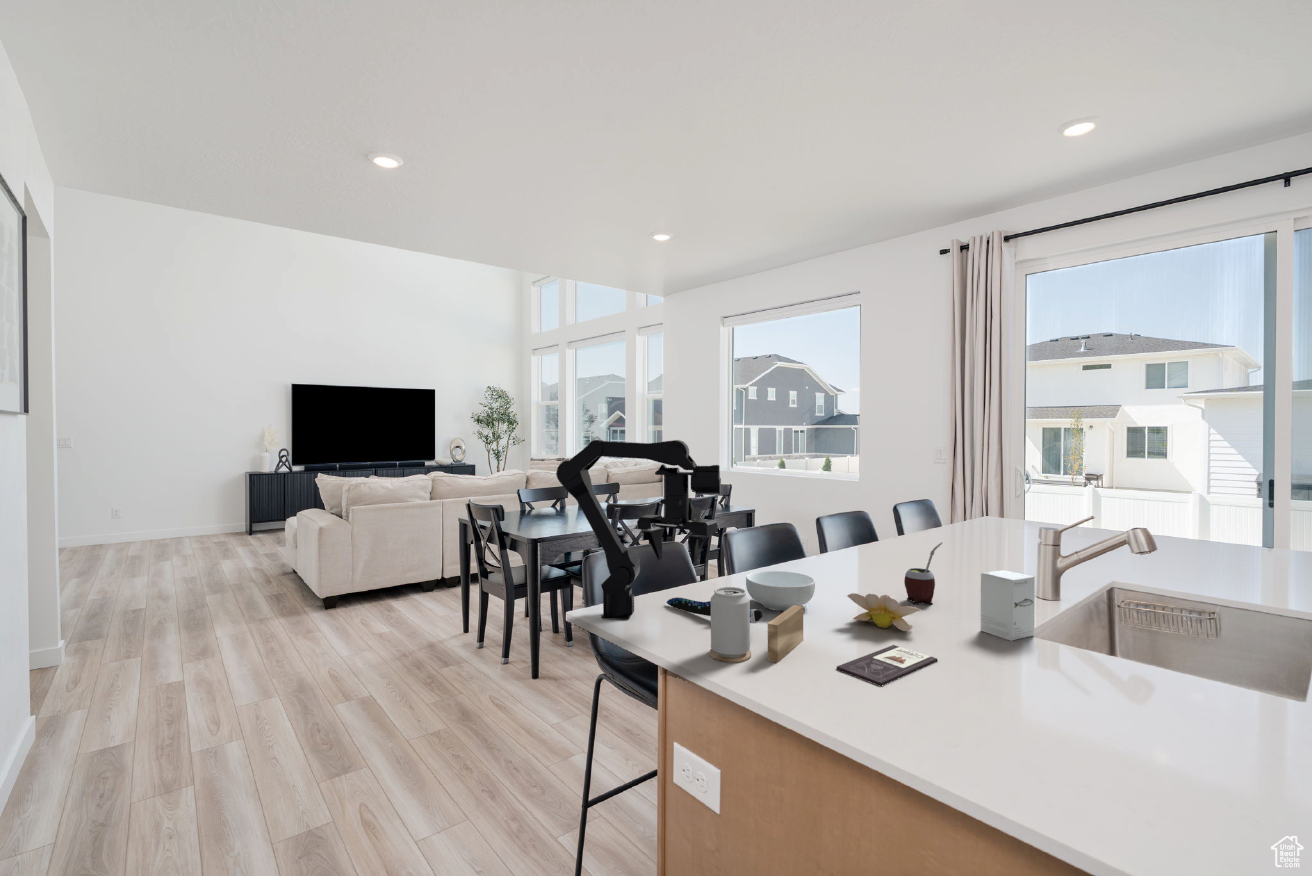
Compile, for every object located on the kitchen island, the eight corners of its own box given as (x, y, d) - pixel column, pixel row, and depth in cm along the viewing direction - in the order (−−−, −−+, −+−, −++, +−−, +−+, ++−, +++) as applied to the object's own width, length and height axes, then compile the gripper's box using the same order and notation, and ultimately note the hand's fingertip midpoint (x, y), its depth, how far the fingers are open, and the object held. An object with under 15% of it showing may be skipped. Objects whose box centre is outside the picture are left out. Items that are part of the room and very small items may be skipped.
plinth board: (767, 660, 112) (767, 623, 112) (793, 638, 124) (793, 604, 124) (777, 662, 111) (777, 625, 111) (803, 640, 123) (803, 606, 123)
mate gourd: (899, 602, 150) (899, 542, 150) (913, 596, 155) (913, 538, 155) (929, 608, 144) (929, 546, 144) (943, 602, 150) (943, 542, 149)
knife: (765, 629, 126) (764, 608, 126) (755, 632, 124) (754, 610, 124) (675, 611, 150) (674, 593, 150) (666, 613, 148) (665, 594, 149)
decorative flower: (935, 617, 132) (928, 575, 130) (918, 643, 124) (911, 598, 122) (868, 609, 142) (861, 569, 140) (849, 632, 134) (841, 590, 132)
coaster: (708, 661, 112) (708, 658, 112) (711, 646, 120) (710, 643, 120) (751, 663, 111) (751, 661, 111) (751, 648, 119) (751, 645, 119)
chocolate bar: (836, 666, 108) (893, 644, 119) (836, 671, 108) (893, 649, 119) (881, 683, 101) (937, 658, 112) (881, 688, 101) (937, 663, 112)
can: (753, 647, 118) (753, 586, 118) (745, 661, 111) (745, 596, 111) (716, 643, 120) (716, 583, 120) (706, 656, 113) (706, 593, 113)
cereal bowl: (823, 616, 139) (823, 586, 139) (751, 616, 139) (751, 586, 139) (805, 596, 156) (805, 569, 156) (741, 596, 156) (741, 569, 156)
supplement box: (1012, 641, 122) (1012, 579, 121) (979, 630, 128) (979, 572, 128) (1035, 636, 125) (1036, 576, 124) (1002, 625, 131) (1002, 568, 131)
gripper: (728, 493, 140) (728, 559, 140) (660, 489, 150) (661, 551, 150) (705, 498, 130) (705, 569, 130) (635, 493, 140) (635, 559, 141)
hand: (676, 561), depth 138 cm, fingers open, 9 cm apart
